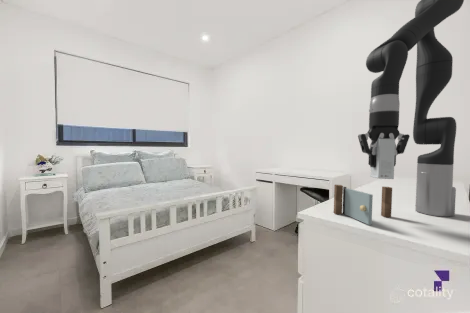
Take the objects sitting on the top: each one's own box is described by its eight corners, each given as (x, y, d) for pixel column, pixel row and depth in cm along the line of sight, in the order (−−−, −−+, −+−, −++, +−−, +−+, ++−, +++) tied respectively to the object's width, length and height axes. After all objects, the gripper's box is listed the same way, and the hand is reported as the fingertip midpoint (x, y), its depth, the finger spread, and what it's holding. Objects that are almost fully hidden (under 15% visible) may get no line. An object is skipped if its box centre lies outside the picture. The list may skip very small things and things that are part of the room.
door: (371, 224, 60) (372, 194, 60) (365, 224, 60) (366, 194, 60) (347, 213, 70) (348, 188, 70) (342, 214, 70) (343, 188, 70)
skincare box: (394, 179, 62) (395, 138, 62) (378, 178, 63) (379, 138, 63) (384, 177, 68) (385, 139, 68) (369, 176, 69) (370, 139, 69)
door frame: (387, 215, 70) (388, 186, 70) (391, 217, 68) (392, 187, 68) (333, 212, 73) (334, 184, 73) (335, 214, 71) (336, 185, 71)
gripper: (364, 109, 63) (362, 167, 63) (418, 109, 61) (415, 169, 61) (353, 114, 70) (352, 166, 70) (401, 114, 68) (399, 167, 68)
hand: (381, 167), depth 66 cm, fingers closed on skincare box, 4 cm apart
